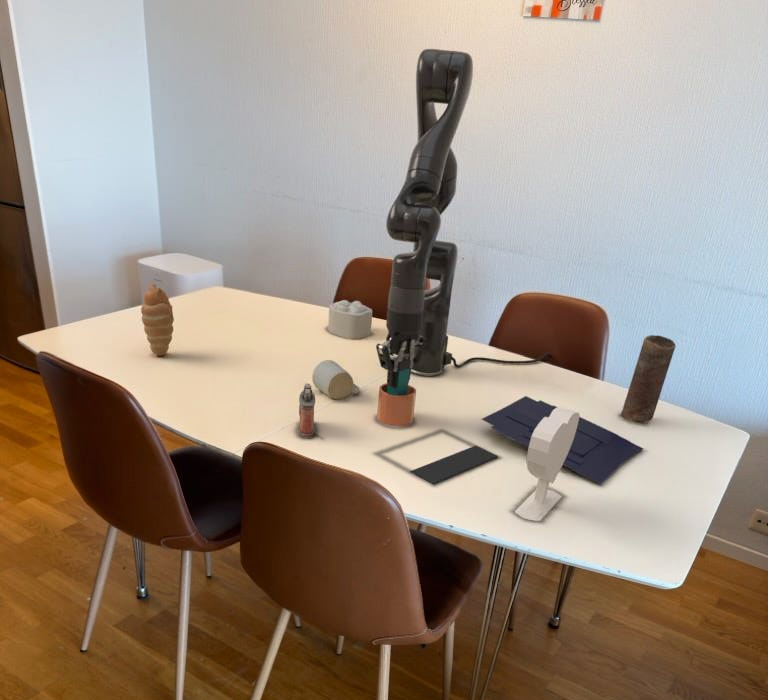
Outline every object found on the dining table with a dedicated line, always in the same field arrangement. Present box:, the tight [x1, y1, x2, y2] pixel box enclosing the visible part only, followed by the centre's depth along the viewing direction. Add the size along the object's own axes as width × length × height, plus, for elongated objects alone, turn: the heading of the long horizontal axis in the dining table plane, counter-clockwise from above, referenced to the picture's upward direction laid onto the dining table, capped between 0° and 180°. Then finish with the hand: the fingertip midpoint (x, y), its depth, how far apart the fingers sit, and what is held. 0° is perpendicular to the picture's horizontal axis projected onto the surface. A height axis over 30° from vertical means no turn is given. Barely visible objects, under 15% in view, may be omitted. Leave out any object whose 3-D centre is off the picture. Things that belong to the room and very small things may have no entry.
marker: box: [387, 357, 411, 396], centre depth 158 cm, size 3×3×14 cm
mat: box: [409, 445, 499, 485], centre depth 148 cm, size 20×16×1 cm
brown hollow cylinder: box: [620, 334, 677, 424], centre depth 169 cm, size 8×7×20 cm
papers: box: [481, 395, 644, 485], centre depth 158 cm, size 24×30×4 cm
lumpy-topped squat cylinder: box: [327, 299, 373, 340], centre depth 214 cm, size 10×13×9 cm
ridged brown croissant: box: [140, 282, 175, 357], centre depth 181 cm, size 9×8×18 cm
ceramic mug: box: [311, 359, 360, 401], centre depth 171 cm, size 11×8×8 cm
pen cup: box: [376, 382, 417, 427], centre depth 160 cm, size 8×8×8 cm
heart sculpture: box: [514, 406, 581, 522], centre depth 130 cm, size 16×5×18 cm, turn 148°
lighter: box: [298, 382, 316, 439], centre depth 151 cm, size 8×3×10 cm, turn 5°
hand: (398, 384), depth 158 cm, fingers closed on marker, 3 cm apart
